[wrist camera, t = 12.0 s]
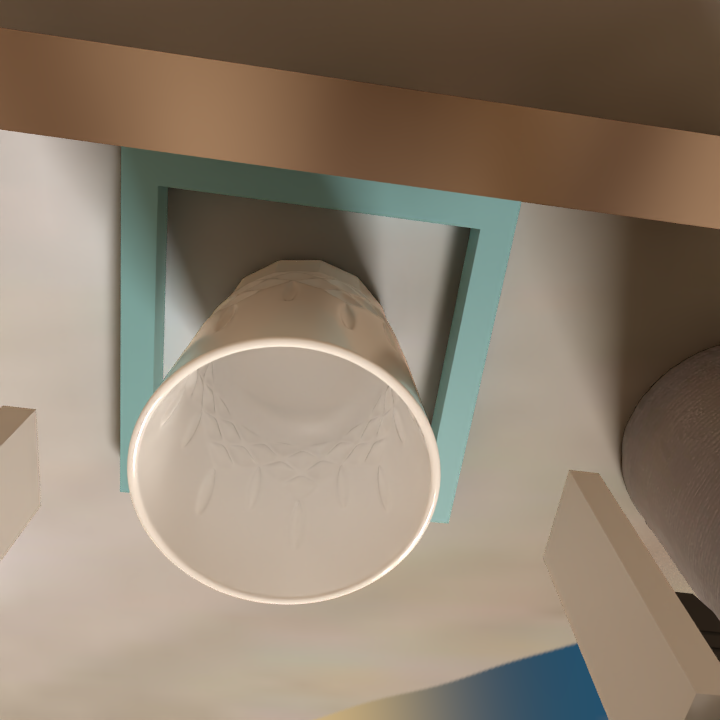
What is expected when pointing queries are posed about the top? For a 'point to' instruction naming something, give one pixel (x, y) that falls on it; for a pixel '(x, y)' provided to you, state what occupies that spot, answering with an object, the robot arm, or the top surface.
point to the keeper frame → (162, 170)
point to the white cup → (287, 443)
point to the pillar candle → (681, 469)
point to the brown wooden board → (354, 129)
